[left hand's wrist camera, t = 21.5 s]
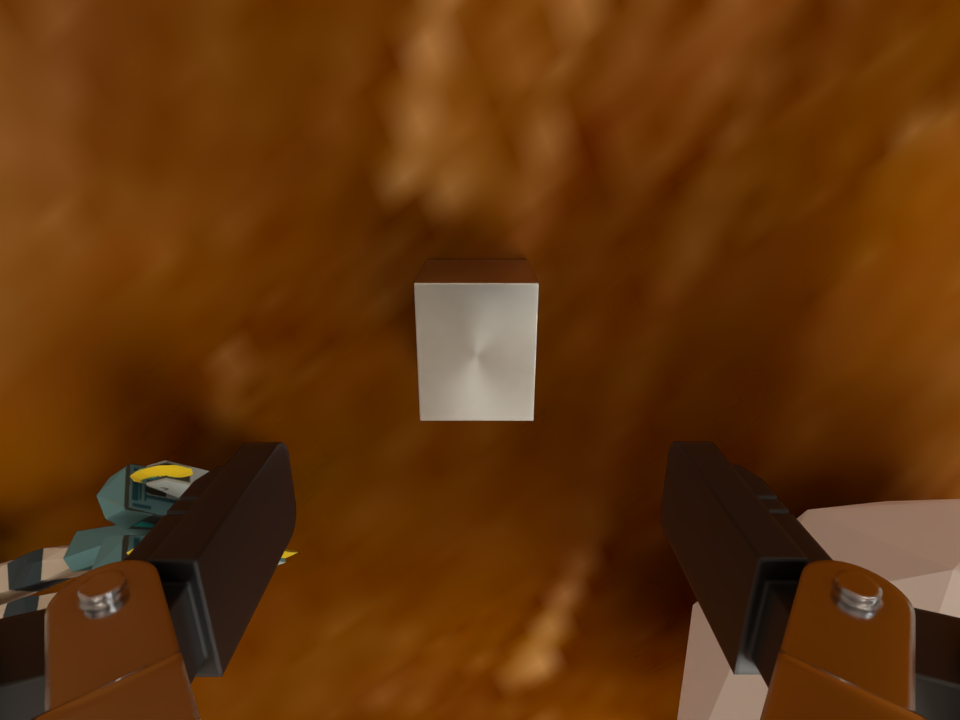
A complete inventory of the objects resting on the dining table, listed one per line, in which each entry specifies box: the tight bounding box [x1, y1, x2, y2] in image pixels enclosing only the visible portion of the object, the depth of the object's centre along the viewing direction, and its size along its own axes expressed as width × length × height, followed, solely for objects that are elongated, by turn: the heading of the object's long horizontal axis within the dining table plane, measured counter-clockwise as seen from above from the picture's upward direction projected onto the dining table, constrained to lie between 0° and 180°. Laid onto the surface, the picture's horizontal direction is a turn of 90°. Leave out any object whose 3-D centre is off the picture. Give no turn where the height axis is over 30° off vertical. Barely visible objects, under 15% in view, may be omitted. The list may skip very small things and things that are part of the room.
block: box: [414, 259, 539, 421], centre depth 20 cm, size 4×5×4 cm
